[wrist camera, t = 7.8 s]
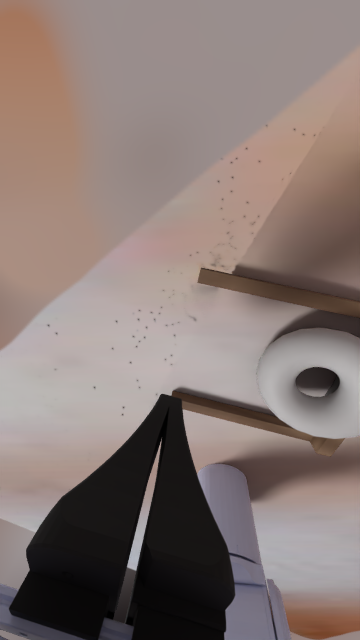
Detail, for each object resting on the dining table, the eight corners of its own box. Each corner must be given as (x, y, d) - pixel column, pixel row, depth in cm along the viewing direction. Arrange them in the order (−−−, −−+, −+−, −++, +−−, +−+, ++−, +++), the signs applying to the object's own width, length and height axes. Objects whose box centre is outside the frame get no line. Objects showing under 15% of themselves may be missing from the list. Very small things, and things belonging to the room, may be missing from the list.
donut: (258, 329, 16) (427, 339, 12) (258, 321, 19) (392, 326, 15) (253, 430, 18) (397, 466, 14) (254, 407, 21) (371, 432, 17)
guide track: (317, 435, 22) (330, 456, 20) (171, 398, 23) (167, 414, 20) (403, 311, 16) (437, 321, 14) (201, 267, 17) (200, 270, 15)
